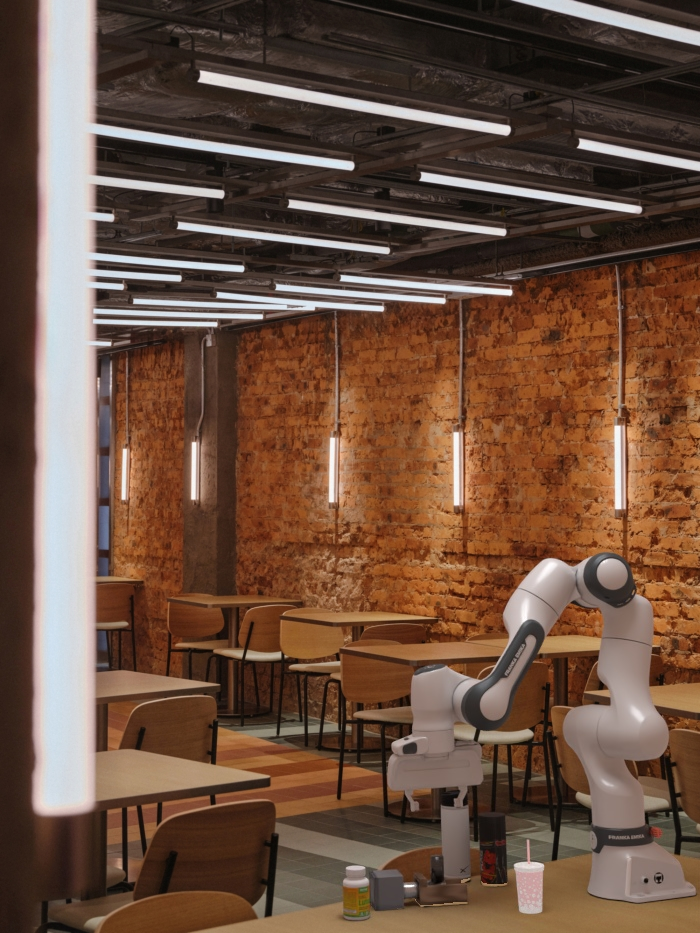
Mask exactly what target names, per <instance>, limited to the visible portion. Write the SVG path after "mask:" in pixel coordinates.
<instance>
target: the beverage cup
mask: <svg viewBox="0 0 700 933" xmlns="http://www.w3.org/2000/svg"><path fill="white" fill-rule="evenodd" d="M526 849H527V852H526V853H527V861H521V862H520V861H519V862H516V863H514V864H513V869H514V871H515V880H516V889H517V902H518V911H519V912H520V913H523V914H528V915H530V914H531V915H532V914H535V915H536V914H540V913H542V912H543V894H544V893H543V891H544V890H543V886H544V885H543V884H544V882H543V881H544V880H543V878H544V870H545V865H544V863H541V862H536V861H531V857H530V856H531V855H530V854H531V852H530V839H526Z"/></svg>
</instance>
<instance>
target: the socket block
mask: <svg viewBox="0 0 700 933" xmlns="http://www.w3.org/2000/svg"><path fill="white" fill-rule="evenodd" d="M368 880H369V888H370V906H371V907H372V908H373V909H374V911H375V912H377V911H379V912H380V911H389V910H391V911H393V910H392V909H394V910H398V909H397V908H404V909H405V899H404V886H403V883H404V875H403V874H402V873H401V872H400V871H399V869H381V870H380V869H379V870H369V871H368Z"/></svg>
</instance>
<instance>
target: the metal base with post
mask: <svg viewBox="0 0 700 933" xmlns="http://www.w3.org/2000/svg"><path fill="white" fill-rule="evenodd" d="M429 857H430V858H429V862H430V864H429V865H430V867H429V868H430V879H431V881H427V886H431V885H446V882H445V880H444V856H443V855H442V854H431V855H430V856H429ZM403 886H404V900H406V899H407V900H409V899H414V898H419V882H414V881H410V882H403Z"/></svg>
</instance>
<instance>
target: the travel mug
mask: <svg viewBox="0 0 700 933" xmlns="http://www.w3.org/2000/svg"><path fill="white" fill-rule="evenodd" d="M441 793H442V794H440V820H441V821H440V824H441V825H440V826H441V855H443V856H444V878H461V880H463V879H468V878H471V879H472V875H471V866H472V865H471V844H470V842H471V841H470V840H471V839H470V838H471V837H470V815H469V814H470V813H469V812H470V809H469V797H468V794H470V788H467V793H466V795H465V797H464V799H463V808H455V807H454V803H455V802H454V799H455V798H458V796H459V794H460V790H459V789H454V790H448V791H444V792H441Z"/></svg>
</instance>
